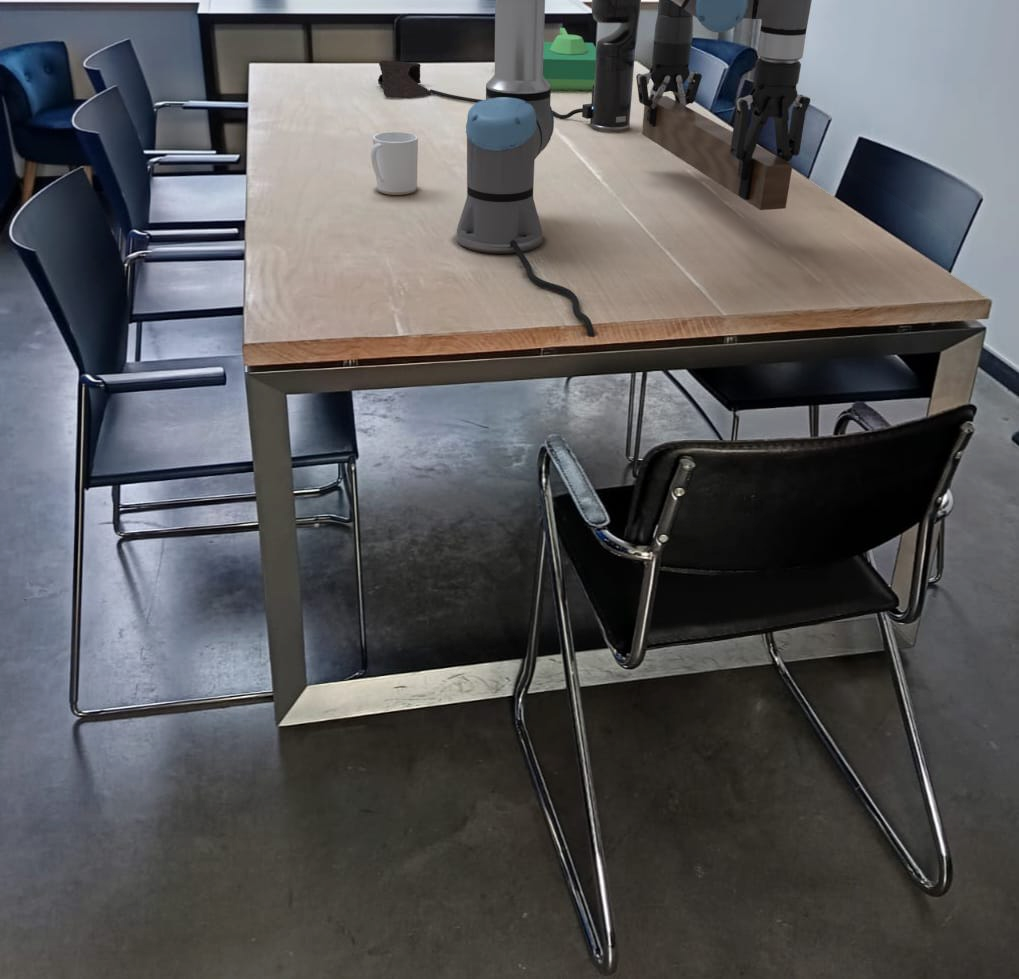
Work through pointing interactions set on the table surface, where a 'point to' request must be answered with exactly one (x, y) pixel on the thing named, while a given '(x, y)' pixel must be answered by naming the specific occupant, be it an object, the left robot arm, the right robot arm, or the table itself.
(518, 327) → the table surface
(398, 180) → the mug
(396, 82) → the axe head
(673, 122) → the beam
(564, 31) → the toy tank
